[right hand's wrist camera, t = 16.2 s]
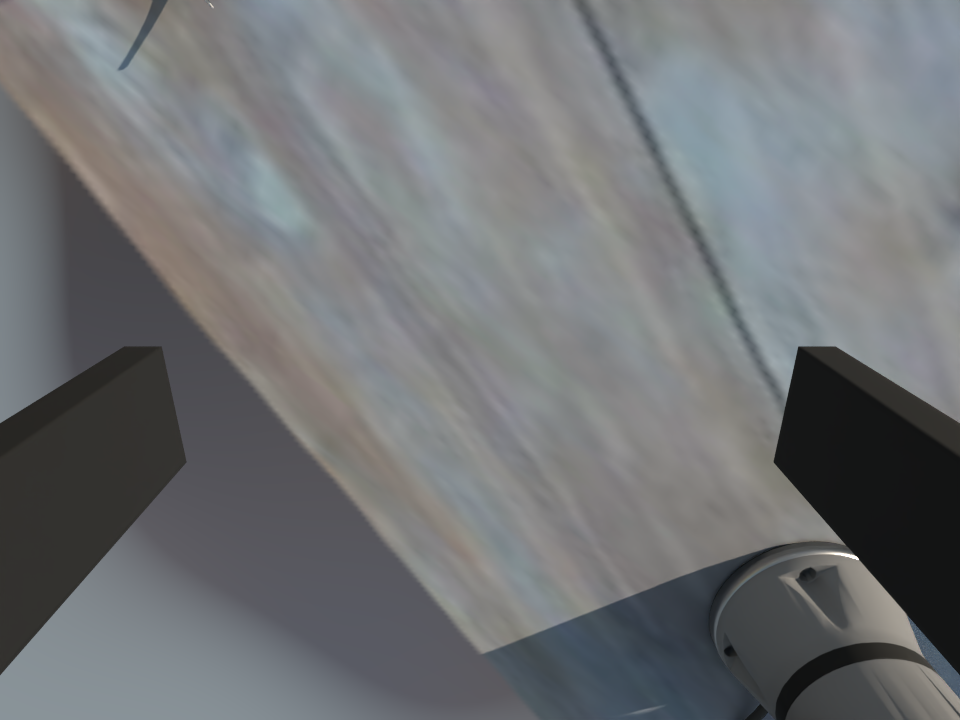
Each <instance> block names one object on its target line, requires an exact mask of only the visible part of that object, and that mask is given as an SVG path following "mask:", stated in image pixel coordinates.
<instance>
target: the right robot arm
mask: <svg viewBox="0 0 960 720" xmlns="http://www.w3.org/2000/svg"><path fill="white" fill-rule="evenodd" d="M185 463H186V458H185V453H184V448H183V444H182V439H181V435H180V430H179V425H178V421H177V416H176V411H175V407H174V402H173V397H172V393H171V388H170V383H169V379H168V374H167V369H166V365H165V360H164V356H163V351H162V347H123V348H121V349H120V350H118V351H116V352H115V353H113V354H112V355H110V356H108V357H107V358H105V359H104V360H102V361H100V362H99V363H97V364H95V365H94V366H92V367H91V368H89V369H87V370H86V371H84V372H83V373H81V374H79V375H78V376H76V377H74V378H73V379H71V380H70V381H68V382H66V383H65V384H63V385H62V386H60V387H58V388H57V389H55V390H53V391H52V392H50V393H49V394H47V395H45V396H44V397H42V398H41V399H39V400H37V401H36V402H34V403H32V404H31V405H29V406H28V407H26V408H24V409H23V410H21V411H19V412H18V413H16V414H15V415H13V416H11V417H10V418H8V419H6V420H5V421H3V422H2V423H0V675H1V674H2V672H3V671H4V670H5V669H6V668H7V667H8V665H9V664H10V663H11V662H12V661H13V660H14V659H15V657H16V656H17V655H18V654H19V653H20V652H21V651H22V649H23V648H24V647H25V646H26V645H27V644H28V643H29V642H30V640H31V639H32V638H33V637H34V636H35V635H36V634H37V632H38V631H39V630H40V629H41V628H42V627H43V626H44V624H45V623H46V622H47V621H48V620H49V619H50V618H51V616H52V615H53V614H54V613H55V612H56V611H57V610H58V608H59V607H60V606H61V605H62V604H63V603H64V602H65V600H66V599H67V598H68V597H69V596H70V595H71V593H72V592H73V591H74V590H75V589H76V588H77V587H78V586H79V584H80V583H81V582H82V581H83V580H84V579H85V578H86V576H87V575H88V574H89V573H90V572H91V571H92V570H93V568H94V567H95V566H96V565H97V564H98V563H99V562H100V560H101V559H102V558H103V557H104V556H105V555H106V554H107V552H108V551H109V550H110V549H111V548H112V547H113V546H114V544H115V543H116V542H117V541H118V540H119V539H120V538H121V536H122V535H123V534H124V533H125V532H126V531H127V530H128V528H129V527H130V526H131V525H132V524H133V523H134V522H135V520H136V519H137V518H138V517H139V516H140V515H141V514H142V512H143V511H144V510H145V509H146V508H147V507H148V506H149V504H150V503H151V502H152V501H153V500H154V499H155V498H156V496H157V495H158V494H159V493H160V492H161V491H162V490H163V488H164V487H165V486H166V485H167V484H168V483H169V481H170V480H171V479H172V478H173V477H174V476H175V475H176V474H177V472H178V471H179V470H180V469H181V468H182V467H183V466H184V464H185ZM774 463H775V464H776V466H777V467H778V468H779V469H780V470H781V471H782V472H783V474H784V475H785V476H786V477H787V478H788V479H789V480H790V482H791V483H792V484H793V485H794V486H795V487H796V488H797V490H798V491H799V492H800V493H801V494H802V495H803V496H804V498H805V499H806V500H807V501H808V502H809V503H810V504H811V506H812V507H813V508H814V509H815V510H816V511H817V512H818V514H819V515H820V516H821V517H822V518H823V519H824V520H825V522H826V523H827V524H828V525H829V526H830V527H831V528H832V530H833V531H834V532H835V533H836V534H837V535H838V536H839V538H840V539H841V540H842V541H843V542H844V543H845V544H846V546H844V545H840V544H836V543H830V542H802V543H795V544H790V545H786V546H782V547H779V548H776V549H773V550H770V551H768V552H765V553H763V554H761V555H759V556H757V557H755V558H754V559H752V560H750V561H749V562H747V563H746V564H744V565H743V566H742V567H740V568H739V569H738V570H737V571H736V572H734V573H733V574H732V575H731V576H730V577H729V578H728V579H727V581H726V582H725V583H724V584H723V586H722V587H721V588H720V590H719V591H718V593H717V595H716V597H715V599H714V601H713V604H712V607H711V610H710V616H709V628H710V633H711V637H712V640H713V642H714V644H715V647H716V649H717V651H718V653H719V655H720V657H721V659H722V661H723V662H724V664H725V665H726V666H727V668H728V669H729V670H730V672H731V673H732V674H733V675H734V676H735V677H736V678H737V679H738V681H739V682H740V683H741V684H742V685H743V686H744V687H745V688H746V689H747V690H748V691H749V692H750V693H751V694H752V695H753V697H754V698H755V699H756V700H757V701H758V702H759V703H760V705H759V706H758V707H757V709H756V710H755V711H754V712H753V713H752V714H751V715H750V716H748V717H747V718H746V719H745V720H761V719H762V718H763V717H764V716H765V715H766V714H767V713H769V714H770V715H771V716H772V717H773V718H774V719H775V720H960V699H959V698H958V697H957V695H956V694H955V693H954V692H953V691H952V690H951V688H950V687H949V686H948V685H947V684H946V683H945V681H944V680H943V679H942V678H941V677H940V676H939V675H938V673H937V672H936V671H935V670H934V669H933V667H932V666H931V665H930V664H929V663H928V661H927V660H926V659H925V658H924V656H923V655H922V653H921V650H920V648H919V645H918V643H917V640H916V638H915V635H914V633H913V630H912V628H911V625H910V623H909V620H908V618H907V616H909V618H910V619H911V620H912V621H913V622H914V623H915V624H916V626H917V627H918V628H919V629H920V630H921V631H922V632H923V634H924V635H925V636H926V637H927V638H928V639H929V640H930V642H931V643H932V644H933V645H934V646H935V647H936V648H937V650H938V651H939V652H940V653H941V654H942V655H943V656H944V658H945V659H946V660H947V661H948V662H949V663H950V664H951V666H952V667H953V668H954V669H955V670H956V671H957V672H958V674H959V675H960V423H958V422H957V421H955V420H954V419H952V418H950V417H949V416H947V415H945V414H944V413H942V412H941V411H939V410H937V409H936V408H934V407H933V406H931V405H929V404H928V403H926V402H924V401H923V400H921V399H920V398H918V397H916V396H915V395H913V394H911V393H910V392H908V391H907V390H905V389H903V388H902V387H900V386H899V385H897V384H895V383H894V382H892V381H890V380H889V379H887V378H886V377H884V376H882V375H881V374H879V373H878V372H876V371H874V370H873V369H871V368H869V367H868V366H866V365H865V364H863V363H861V362H860V361H858V360H856V359H855V358H853V357H852V356H850V355H848V354H847V353H845V352H844V351H842V350H840V349H839V348H837V347H798V351H797V356H796V360H795V365H794V369H793V374H792V379H791V383H790V388H789V393H788V397H787V402H786V407H785V411H784V416H783V421H782V425H781V430H780V434H779V439H778V444H777V448H776V453H775V458H774Z"/></svg>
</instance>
